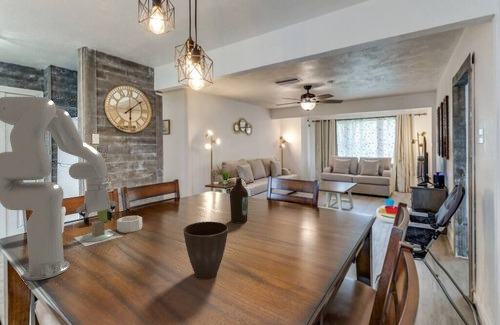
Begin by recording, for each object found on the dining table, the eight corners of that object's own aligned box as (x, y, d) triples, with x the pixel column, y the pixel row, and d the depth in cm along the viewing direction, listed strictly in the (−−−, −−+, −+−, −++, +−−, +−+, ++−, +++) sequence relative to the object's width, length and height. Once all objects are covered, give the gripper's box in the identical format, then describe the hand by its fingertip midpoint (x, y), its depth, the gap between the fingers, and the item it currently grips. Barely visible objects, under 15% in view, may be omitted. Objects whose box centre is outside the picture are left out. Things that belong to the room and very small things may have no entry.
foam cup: (53, 238, 122) (52, 211, 121) (38, 237, 124) (36, 210, 123) (71, 232, 132) (70, 207, 131) (56, 230, 133) (55, 206, 132)
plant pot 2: (229, 263, 96) (229, 221, 95) (227, 284, 81) (226, 235, 80) (189, 263, 96) (188, 221, 94) (179, 285, 81) (178, 236, 80)
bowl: (145, 229, 135) (145, 218, 134) (124, 235, 126) (123, 223, 126) (135, 225, 142) (135, 214, 141) (114, 230, 133) (114, 219, 133)
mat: (123, 237, 124) (123, 236, 124) (85, 247, 111) (85, 246, 111) (109, 230, 134) (109, 229, 134) (73, 238, 122) (73, 237, 122)
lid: (118, 236, 123) (117, 221, 123) (88, 244, 114) (87, 228, 113) (107, 230, 132) (106, 217, 131) (78, 237, 122) (77, 223, 121)
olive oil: (226, 222, 146) (226, 178, 145) (235, 217, 156) (234, 176, 154) (243, 224, 142) (243, 179, 141) (251, 219, 152) (251, 177, 150)
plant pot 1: (117, 219, 154) (117, 204, 154) (107, 223, 145) (107, 208, 144) (103, 218, 155) (102, 204, 155) (92, 223, 146) (91, 208, 145)
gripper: (112, 183, 130) (114, 216, 132) (72, 189, 117) (75, 225, 119) (118, 185, 125) (120, 219, 127) (77, 191, 112) (80, 229, 114)
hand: (98, 222), depth 123 cm, fingers open, 9 cm apart
